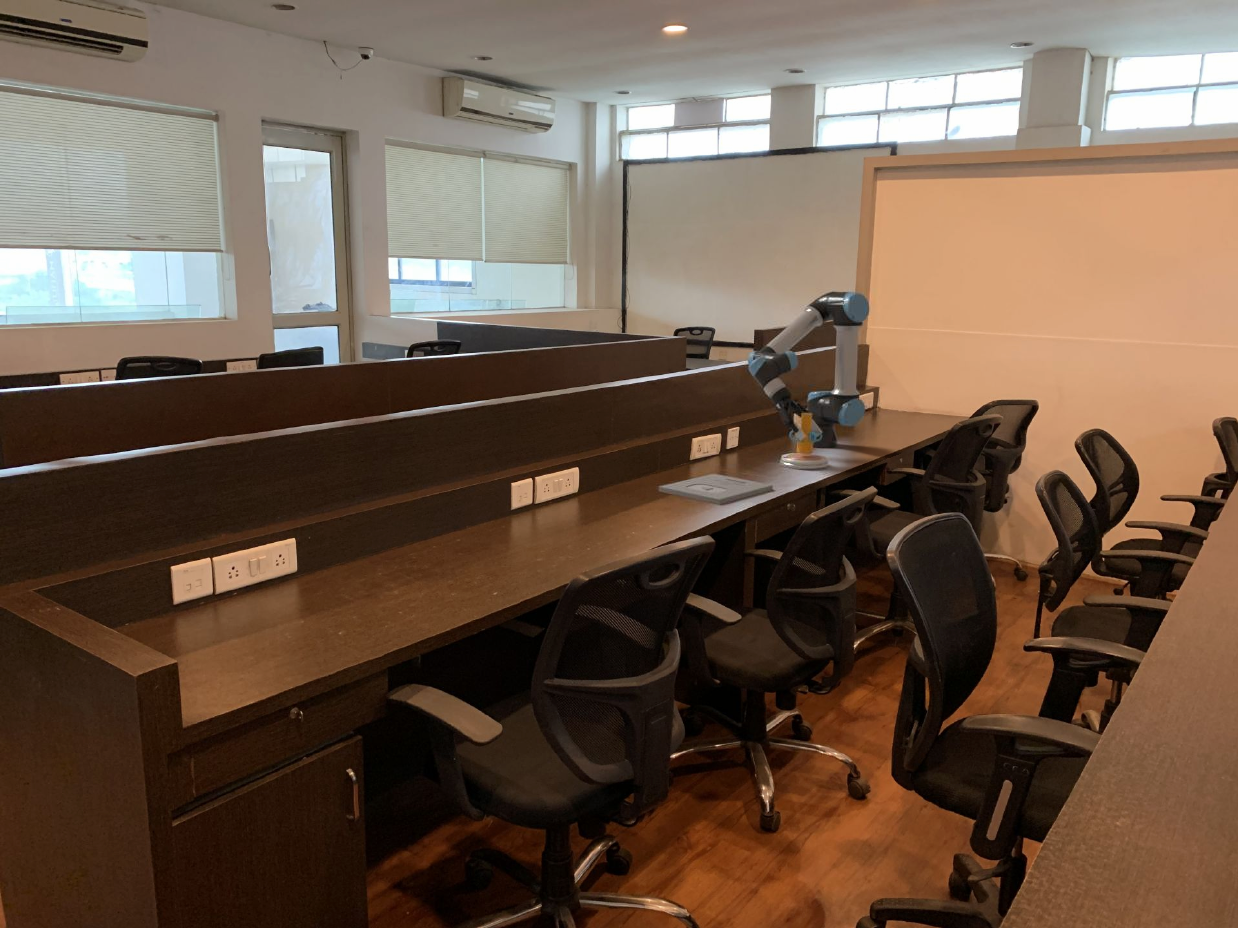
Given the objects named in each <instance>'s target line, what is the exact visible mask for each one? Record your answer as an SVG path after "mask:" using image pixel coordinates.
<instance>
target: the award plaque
mask: <svg viewBox="0 0 1238 928" xmlns="http://www.w3.org/2000/svg"><path fill="white" fill-rule="evenodd" d="M773 487H774V485H773V484H770V483H763V482H760V481H758V482H757V481H754V480H748V479H745V478H739V477H732V476H728V475H722V474H717V473H710V474H707V475H703V476H698V477H694V478H690V479H687V480H681V481H677V482H673V483H668V484H664V485H660V486H658V492H660V493H664V494H669V495H674V496H677V497H683V498H687V499H691V500H696V501H701V502H705V503H710V504H714V505H722V504H726V503H729V502H733V501H736V500H741V499H745V498H749V497H751V496H755V495H758V494H762V493H767V492H769V491H772V490H773Z"/></svg>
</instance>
